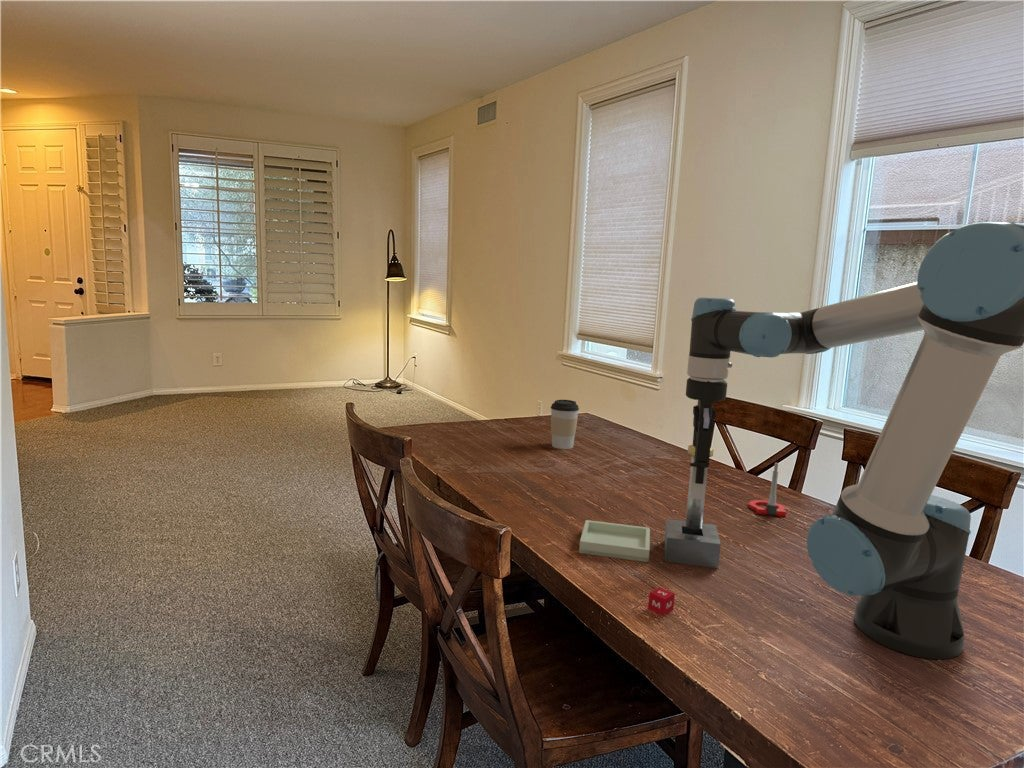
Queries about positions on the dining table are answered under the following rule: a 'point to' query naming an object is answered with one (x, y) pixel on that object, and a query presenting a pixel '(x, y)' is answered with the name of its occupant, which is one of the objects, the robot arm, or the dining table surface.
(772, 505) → the tow hook
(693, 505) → the pin
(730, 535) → the dining table surface
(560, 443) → the coffee cup
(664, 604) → the dice
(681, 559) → the hitch block
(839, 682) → the dining table surface
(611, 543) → the tray
